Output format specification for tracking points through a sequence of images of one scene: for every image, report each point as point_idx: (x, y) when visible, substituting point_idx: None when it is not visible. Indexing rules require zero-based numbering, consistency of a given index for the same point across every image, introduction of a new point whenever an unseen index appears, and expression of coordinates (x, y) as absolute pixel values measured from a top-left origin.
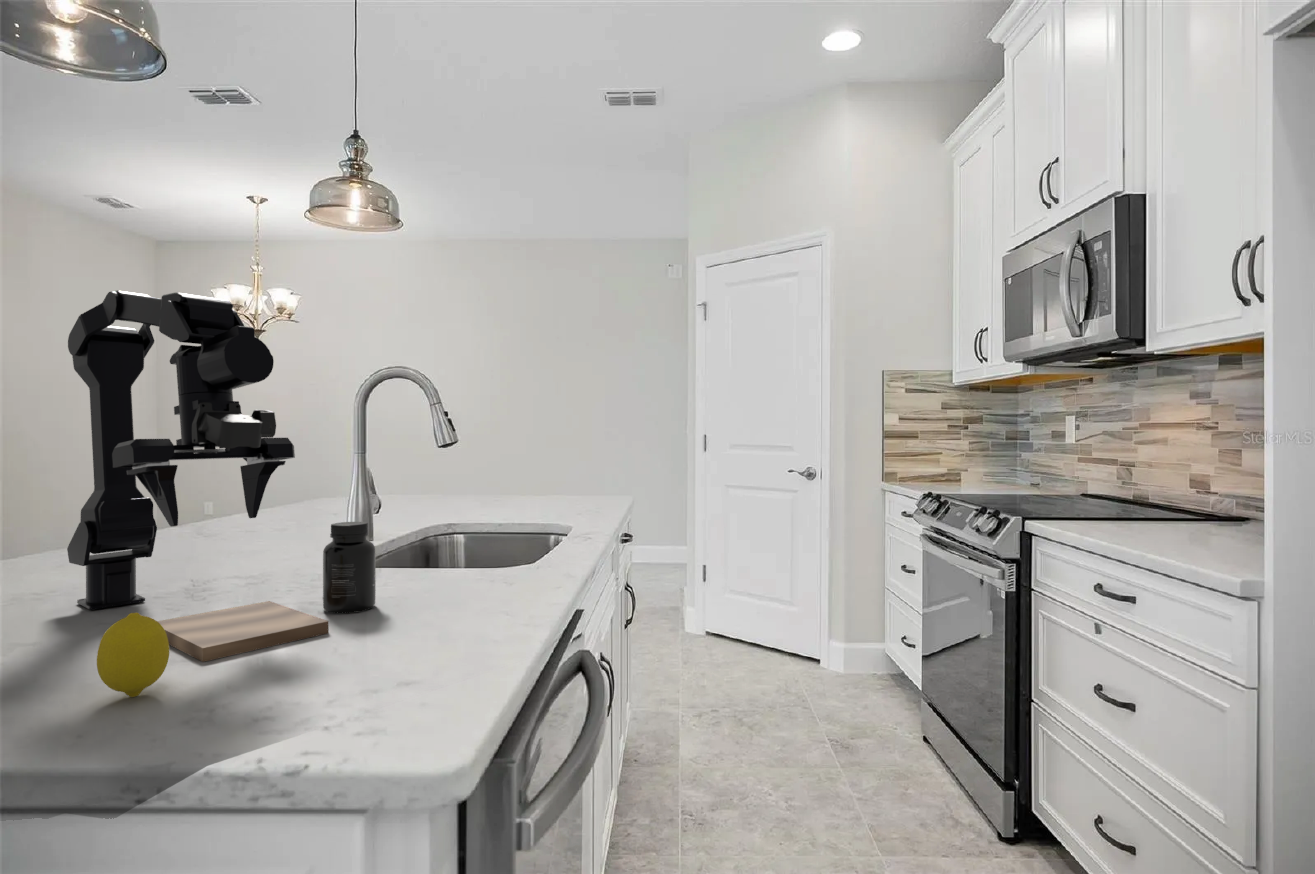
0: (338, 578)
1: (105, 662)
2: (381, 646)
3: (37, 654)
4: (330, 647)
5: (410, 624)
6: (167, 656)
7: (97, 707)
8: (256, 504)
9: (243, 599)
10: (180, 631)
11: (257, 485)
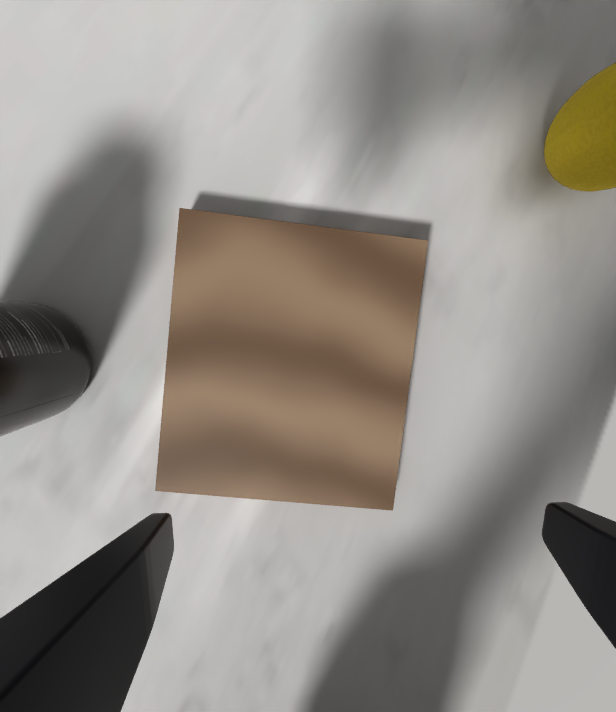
0: (24, 334)
1: None
2: (180, 40)
3: (537, 526)
4: (242, 126)
5: (38, 122)
6: (573, 94)
7: None
8: (120, 554)
9: None
10: (393, 391)
11: (12, 678)
